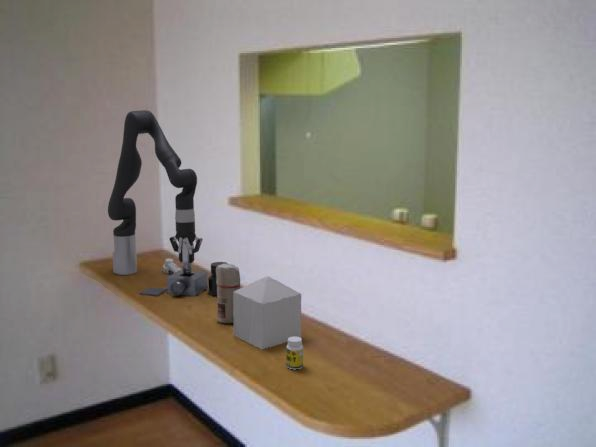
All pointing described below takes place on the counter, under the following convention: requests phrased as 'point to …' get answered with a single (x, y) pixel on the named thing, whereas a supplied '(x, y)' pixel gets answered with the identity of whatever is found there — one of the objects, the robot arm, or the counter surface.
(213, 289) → the ink bottle
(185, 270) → the grey metal cylinder
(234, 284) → the spray can
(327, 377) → the counter surface
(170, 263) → the white elongated piece
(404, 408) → the counter surface
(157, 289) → the key rest mat
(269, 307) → the decorative block
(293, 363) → the supplement bottle
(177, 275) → the block
